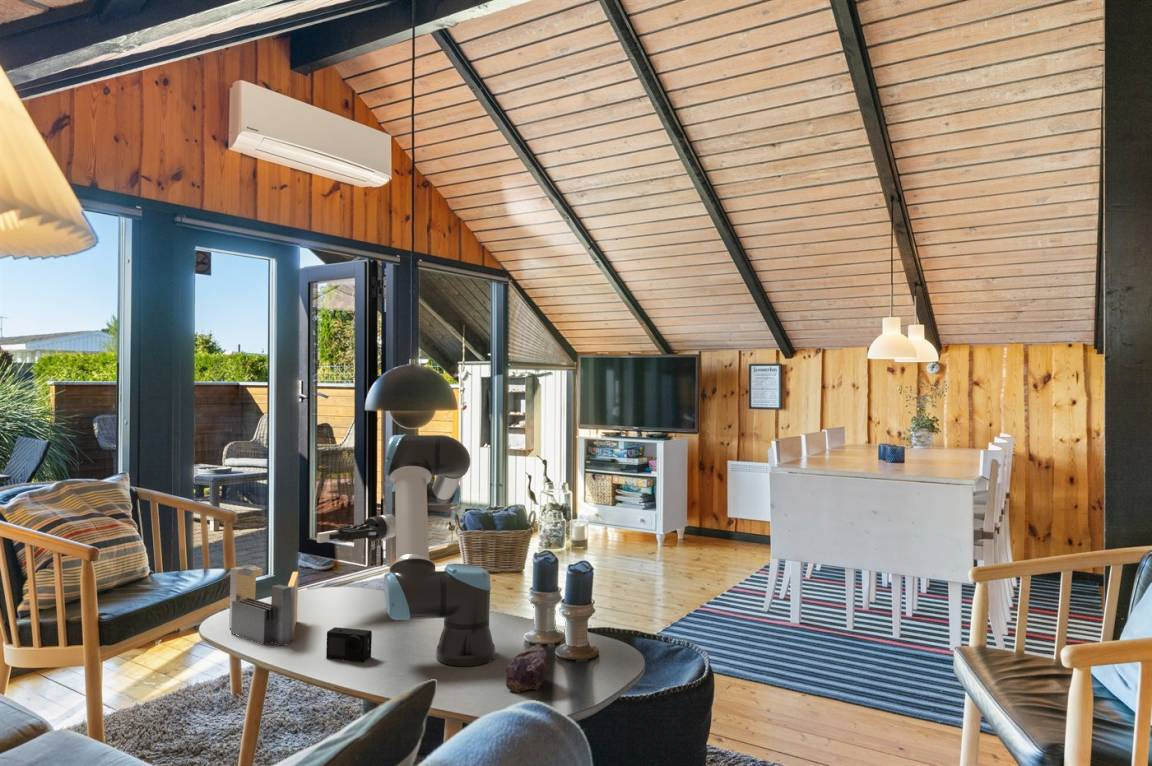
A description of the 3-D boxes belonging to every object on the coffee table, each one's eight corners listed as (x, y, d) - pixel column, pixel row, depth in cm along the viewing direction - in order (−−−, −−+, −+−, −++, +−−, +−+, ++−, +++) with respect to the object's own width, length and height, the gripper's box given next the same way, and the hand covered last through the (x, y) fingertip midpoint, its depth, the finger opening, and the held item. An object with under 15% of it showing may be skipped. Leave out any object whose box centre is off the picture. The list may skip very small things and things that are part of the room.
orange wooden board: (293, 639, 213) (294, 587, 213) (283, 640, 212) (285, 587, 212) (298, 619, 231) (299, 571, 232) (289, 619, 231) (291, 571, 231)
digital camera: (323, 660, 199) (323, 632, 199) (333, 653, 204) (334, 626, 204) (361, 664, 197) (362, 636, 197) (371, 657, 202) (371, 630, 202)
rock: (500, 695, 183) (537, 703, 178) (497, 659, 182) (534, 667, 177) (528, 672, 193) (563, 679, 188) (525, 638, 192) (560, 645, 187)
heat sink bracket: (300, 640, 214) (302, 577, 214) (273, 648, 207) (275, 583, 207) (248, 623, 228) (250, 564, 228) (221, 630, 221) (223, 569, 221)
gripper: (393, 542, 249) (332, 554, 230) (366, 536, 257) (304, 547, 237) (394, 518, 249) (333, 528, 230) (366, 513, 257) (305, 522, 237)
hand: (318, 538), depth 234 cm, fingers closed
